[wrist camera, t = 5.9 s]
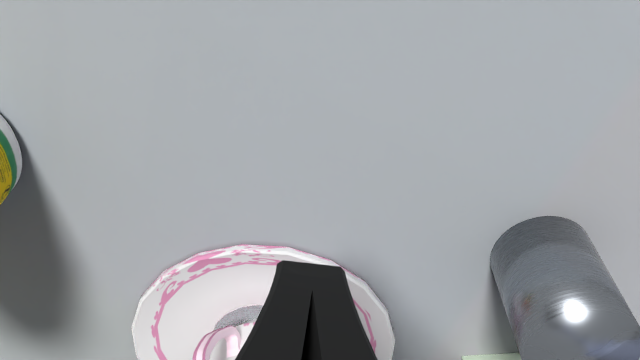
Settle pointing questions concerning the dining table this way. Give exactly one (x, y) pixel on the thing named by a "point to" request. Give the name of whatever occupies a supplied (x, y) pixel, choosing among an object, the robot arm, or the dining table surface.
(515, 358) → the sage block
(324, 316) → the robot arm
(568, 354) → the grey canister
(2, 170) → the supplement bottle
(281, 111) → the dining table surface
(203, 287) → the teacup
